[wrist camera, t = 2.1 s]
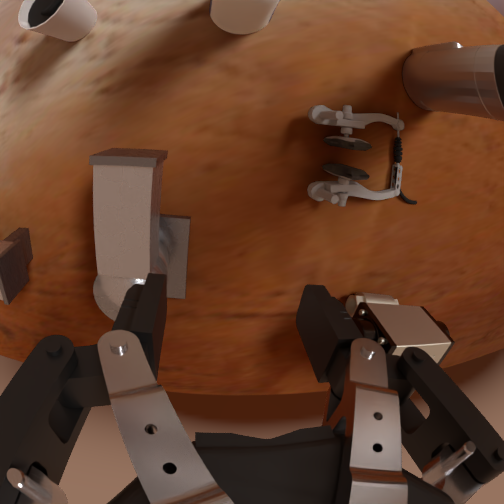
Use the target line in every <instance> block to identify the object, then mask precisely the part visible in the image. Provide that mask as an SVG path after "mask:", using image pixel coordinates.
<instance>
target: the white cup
mask: <svg viewBox="0 0 504 504" xmlns="http://www.w3.org/2000/svg"><path fill="white" fill-rule="evenodd" d="M96 20H97V11H96V10H95V8H94V7H93V6H92V5H91V4H90V3H89V2H88V1H87V0H24V2H23V3H22V6H21V8H20V11H19V17H18V21H19V24H20V26H21V27H23V28H25V29H27V30H31V31H35V32H38V33H42V34H45V35H49V36H52V37H55V38H58V39H61V40H64V41H67V42H73V41H77V40H79V39H82V38H83V37H84V36H86V35H87V34H88V33H89V32H90V31H91V29H92V28H93V27H94V25H95V23H96Z"/></svg>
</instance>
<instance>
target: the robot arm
mask: <svg viewBox="0 0 504 504" xmlns="http://www.w3.org/2000/svg"><path fill="white" fill-rule="evenodd" d="M402 77H403V83H404V86H405V89H406V92H407V93H408V95H409V97H410V98H411V100H412V101H413V102H414V103H415V104H416V105H417V106H419V107H420V108H422V109H425V110H431V111H441V112H449V113H457V114H465V115H472V116H478V117H484V118H490V119H495V120H500V121H504V45H483V46H469V47H463V46H462V45H460V44H459V43H458V42H448V43H441V44H435V45H429V46H424V47H419V48H414V49H413V52H412V54H411V55H410V56H409V57H408V58H407V59H406V61H405V62H404V65H403V71H402ZM166 313H167V275H166V274H157V273H148V275H147V278H146V281H145V284H144V285H143V284H134V285H133V286H132V287H131V288H129V289H128V290H127V292H126V294H125V297H124V300H123V302H122V304H121V307H120V310H119V312H118V315H117V317H116V320H115V323H114V325H113V328H112V331H110V332H107V333H106V334H104V335H103V336H102V337H101V338H100V339H99V341H98V344H95V345H90V346H80V347H74V346H73V343H72V341H71V340H70V339H69V338H67V337H65V336H62V335H51V336H48V337H46V338H44V339H42V340H41V341H40V342H39V343H38V344H37V346H36V347H35V348H34V350H33V351H32V352H31V353H30V355H29V356H28V357H27V359H26V360H25V362H24V363H23V364H22V366H21V367H20V369H19V370H18V371H17V373H16V374H15V375H14V377H13V378H12V380H11V381H10V383H9V384H8V386H7V387H6V389H5V390H4V392H3V393H2V395H1V396H0V504H68V501H67V498H66V495H65V493H64V492H63V490H62V489H61V488H60V487H59V486H58V485H59V482H60V480H61V477H62V474H63V472H64V470H65V467H66V465H67V462H68V459H69V457H70V455H71V452H72V450H73V448H74V445H75V443H76V441H77V438H78V436H79V434H80V431H81V429H82V427H83V425H84V423H85V420H86V418H87V416H88V414H89V411H90V410H91V407H94V406H104V405H112V408H113V412H114V415H115V418H116V421H117V424H118V427H119V430H120V432H121V435H122V438H123V441H124V444H125V446H126V449H127V451H128V454H129V457H130V459H131V462H132V464H133V466H134V469H135V471H136V473H137V477H136V478H135V479H134V480H133V481H132V482H131V483H130V484H129V485H128V486H126V487H125V488H124V489H123V490H122V491H121V492H120V493H119V494H117V496H115V497H114V498H113V499H112V500H111V501H110V502H108V503H107V504H465V503H466V502H467V501H468V500H469V499H470V498H471V497H472V496H473V495H474V494H475V493H476V491H477V490H478V489H480V488H481V487H483V486H484V485H486V484H487V483H488V482H490V481H491V480H493V479H494V478H495V477H497V476H498V475H499V474H501V473H502V472H503V471H504V441H503V440H502V438H501V437H500V436H499V434H498V433H497V432H496V431H495V430H494V428H493V427H492V426H491V425H490V423H489V422H488V421H487V420H486V419H485V417H484V416H483V415H482V414H481V413H480V411H479V410H478V409H477V408H476V407H475V406H474V404H473V403H472V402H471V401H470V400H469V399H468V397H467V396H466V395H465V394H464V393H463V392H462V391H461V390H460V389H459V387H458V386H457V385H456V384H455V383H454V382H453V381H452V379H451V378H450V377H449V376H448V375H447V374H446V373H445V372H444V371H443V370H442V368H441V367H440V366H439V365H438V364H437V363H436V362H435V361H434V360H433V359H432V358H431V357H430V356H429V354H428V353H426V352H425V351H424V350H422V349H420V348H418V347H413V346H411V347H407V348H405V349H404V351H403V353H402V354H401V356H398V355H392V354H386V353H385V351H384V349H383V348H382V347H381V345H379V344H378V343H377V342H375V341H373V340H371V339H367V338H364V337H363V336H362V334H361V332H360V331H359V329H358V328H357V326H356V324H355V323H354V321H353V320H352V319H351V316H350V315H349V313H347V310H346V309H345V307H344V305H343V304H342V303H341V302H340V301H338V300H337V299H336V298H335V297H331V296H330V294H329V292H328V291H327V289H326V288H325V286H323V285H306V286H305V288H304V291H303V294H302V298H301V301H300V305H299V308H298V312H297V316H296V325H297V329H298V331H299V334H300V336H301V339H302V341H303V344H304V347H305V349H306V352H307V354H308V357H309V359H310V362H311V365H312V367H313V370H314V372H315V375H316V378H317V380H318V383H323V382H329V383H330V385H331V386H330V387H329V389H328V391H327V396H326V403H325V409H324V415H323V421H322V426H321V427H314V428H305V429H299V430H296V431H293V432H291V433H288V434H285V435H282V436H279V437H275V438H272V439H260V438H255V437H249V436H243V435H238V434H233V433H199V432H196V433H195V434H196V435H195V441H193V442H191V441H190V439H189V437H188V435H187V433H186V432H185V430H184V428H183V426H182V424H181V422H180V420H179V418H178V417H177V415H176V413H175V411H174V409H173V407H172V405H171V403H170V401H169V398H168V396H167V394H166V392H165V390H164V388H163V387H162V386H161V385H158V384H157V382H156V381H157V375H158V368H159V360H160V354H161V347H162V341H163V334H164V328H165V322H166ZM415 390H416V391H417V392H418V393H419V394H420V396H421V397H422V398H423V399H424V401H425V402H426V403H427V404H428V406H429V408H430V414H429V417H428V418H427V419H425V418H424V416H423V415H422V414H421V412H420V411H419V410H418V409H417V407H416V406H415V405H414V403H413V402H412V401H411V400H410V398H409V397H410V396H411V395H412V393H413V392H414V391H415ZM401 443H402V444H403V446H404V447H405V449H406V450H407V452H408V453H409V454H410V456H411V457H412V459H413V460H414V462H415V463H416V465H417V466H418V468H419V469H420V470H421V472H422V478H418V477H416V476H415V475H413V474H411V473H410V472H408V471H406V470H405V469H403V468H402V464H401V463H402V457H401V456H402V455H401Z"/></svg>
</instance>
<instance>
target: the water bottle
mask: <svg viewBox="0 0 504 504" xmlns="http://www.w3.org/2000/svg"><path fill="white" fill-rule="evenodd" d="M279 1H280V0H211V2H210V8H209V12H210V16H211V19H212V20H213V22H214V23H215V24H216V25H217V26H218V27H219V28H221V29H222V30H224V31H227V32H229V33H233V34H250V33H254V32H257V31H259V30H261V29H262V28H264V27H265V26H266V25H267V24H268V23H269V21H270V19H271V17H272V15H273V13H274V10H275V8H276V6H277V5H278V3H279Z"/></svg>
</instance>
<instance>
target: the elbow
mask: <svg viewBox="0 0 504 504" xmlns="http://www.w3.org/2000/svg"><path fill="white" fill-rule="evenodd" d="M167 154H168V151H166V150H149V149H125V148H111V149H108V150H105V151H102V152H99V153H96V154H94V155H91V156H90V159H89V165H93V213H94V235H95V249H96V260H97V270H98V275H97V277H96V279H95V281H94V285H93V293H94V298H95V300H96V303H97V305H98V306H99V308H100V309H101V310H102V312H103V313H104V314H105V315H107V316H108V317H109V318H110V319H112V320H114V321H115V320H116V317H117V315H118V312H119V310H120V307H121V304H122V302H123V300H124V297H125V294H126V292H127V290H128V289H129V288H131V287H132V286H133V285H134V284H143V285H144V284H145V281H146V278H147V275H148V273H157V274H166V275H167V283H168V271H167V267H166V265H165V263H164V261H163V260H162V258H161V257H160V256H159V255H158V253H159V220H160V200H161V185H162V173H163V161H164V160H165V159H167Z"/></svg>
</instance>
